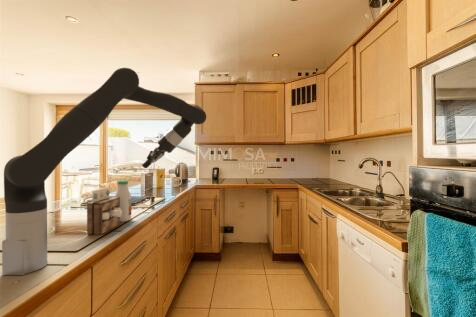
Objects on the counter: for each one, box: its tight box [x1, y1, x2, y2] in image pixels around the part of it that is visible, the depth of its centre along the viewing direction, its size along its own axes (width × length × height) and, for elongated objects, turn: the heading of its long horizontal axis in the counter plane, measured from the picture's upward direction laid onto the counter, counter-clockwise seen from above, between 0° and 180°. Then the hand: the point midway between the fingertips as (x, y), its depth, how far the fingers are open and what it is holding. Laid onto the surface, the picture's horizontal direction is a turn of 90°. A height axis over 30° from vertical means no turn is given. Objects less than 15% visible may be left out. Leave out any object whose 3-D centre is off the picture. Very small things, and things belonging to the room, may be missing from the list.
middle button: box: [108, 210, 122, 217], centre depth 109 cm, size 3×5×3 cm, turn 88°
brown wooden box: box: [86, 196, 121, 235], centre depth 109 cm, size 15×6×13 cm, turn 178°
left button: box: [102, 212, 110, 220], centre depth 104 cm, size 3×5×3 cm, turn 88°
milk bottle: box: [114, 180, 132, 223], centre depth 123 cm, size 8×8×20 cm
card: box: [91, 186, 111, 203], centre depth 109 cm, size 12×1×5 cm, turn 178°
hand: (144, 166), depth 110 cm, fingers closed
